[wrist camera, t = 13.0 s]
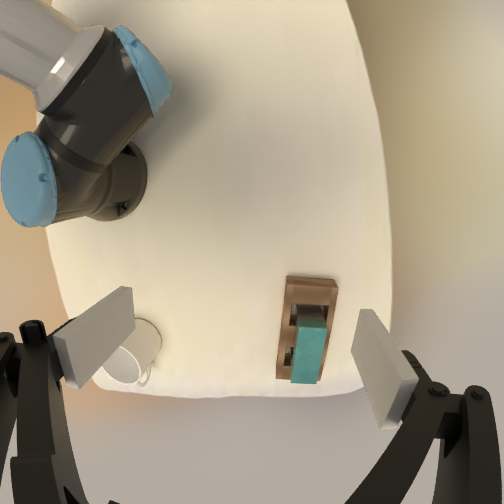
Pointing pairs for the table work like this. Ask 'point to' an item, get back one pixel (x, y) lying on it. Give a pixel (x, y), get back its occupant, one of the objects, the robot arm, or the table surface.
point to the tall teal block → (307, 344)
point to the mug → (134, 355)
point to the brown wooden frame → (294, 293)
